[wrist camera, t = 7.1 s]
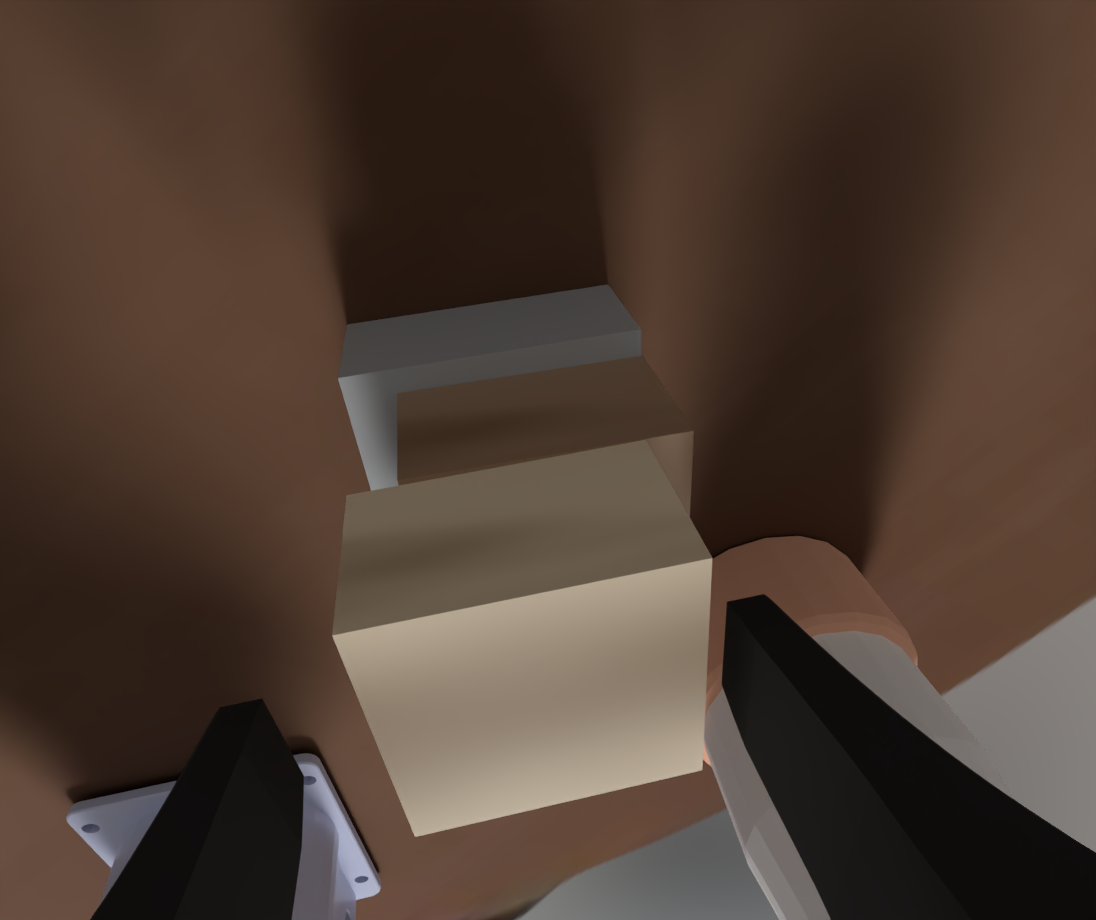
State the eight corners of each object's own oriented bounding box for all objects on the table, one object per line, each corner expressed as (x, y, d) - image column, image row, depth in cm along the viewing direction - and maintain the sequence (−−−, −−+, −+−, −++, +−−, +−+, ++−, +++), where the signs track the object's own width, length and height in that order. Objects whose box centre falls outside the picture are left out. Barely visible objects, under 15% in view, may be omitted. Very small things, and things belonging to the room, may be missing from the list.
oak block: (650, 638, 14) (701, 770, 12) (411, 690, 14) (415, 837, 12) (645, 439, 12) (712, 558, 9) (346, 495, 11) (331, 635, 9)
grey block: (614, 483, 20) (644, 552, 17) (403, 521, 19) (403, 599, 17) (604, 279, 16) (641, 329, 14) (347, 318, 16) (337, 378, 13)
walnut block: (642, 540, 17) (684, 631, 15) (439, 577, 16) (447, 678, 14) (642, 355, 14) (694, 431, 12) (397, 393, 14) (397, 480, 11)
